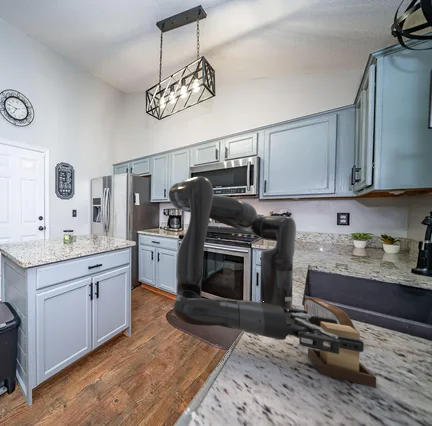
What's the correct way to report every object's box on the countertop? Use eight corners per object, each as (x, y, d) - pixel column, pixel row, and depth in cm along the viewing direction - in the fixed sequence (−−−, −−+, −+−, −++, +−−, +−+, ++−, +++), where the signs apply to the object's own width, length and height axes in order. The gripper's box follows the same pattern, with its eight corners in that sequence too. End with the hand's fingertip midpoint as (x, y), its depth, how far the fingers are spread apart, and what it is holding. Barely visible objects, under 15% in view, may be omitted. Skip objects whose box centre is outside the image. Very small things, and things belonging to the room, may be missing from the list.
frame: (307, 355, 50) (307, 347, 50) (354, 366, 47) (355, 357, 47) (321, 374, 44) (321, 364, 44) (376, 387, 41) (376, 377, 41)
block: (319, 360, 48) (320, 321, 48) (349, 366, 46) (350, 326, 46) (327, 369, 45) (327, 327, 45) (359, 376, 43) (359, 333, 43)
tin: (356, 349, 52) (357, 316, 52) (341, 347, 53) (342, 314, 53) (312, 319, 67) (312, 293, 67) (301, 318, 68) (301, 292, 68)
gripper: (267, 316, 45) (374, 334, 38) (252, 292, 58) (329, 303, 51) (266, 351, 45) (373, 375, 38) (251, 319, 58) (329, 333, 51)
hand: (348, 334), depth 45 cm, fingers open, 8 cm apart
